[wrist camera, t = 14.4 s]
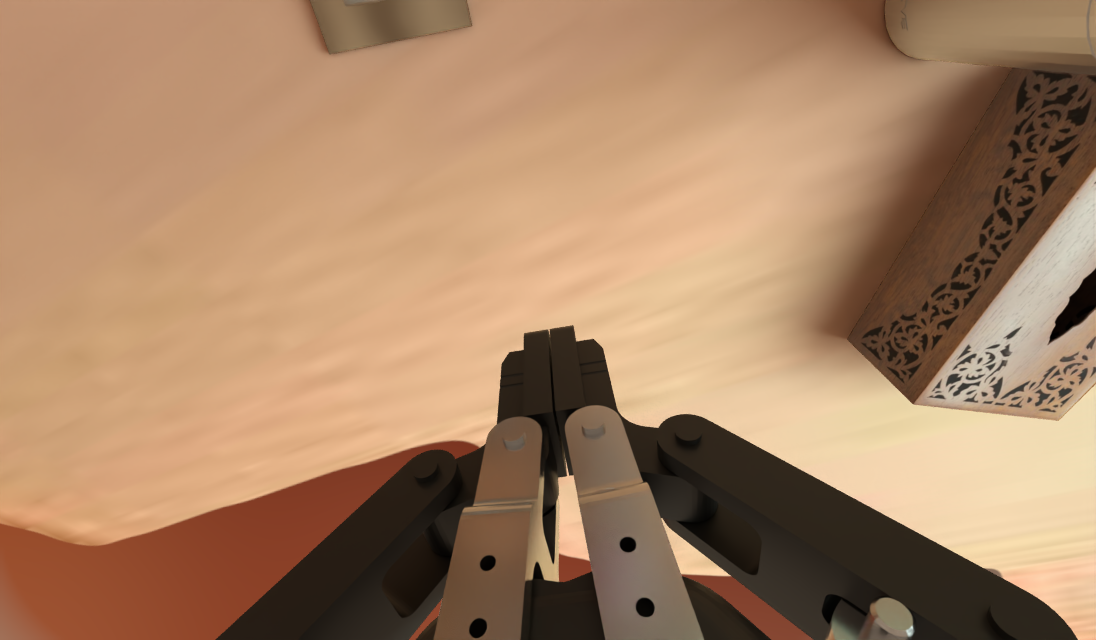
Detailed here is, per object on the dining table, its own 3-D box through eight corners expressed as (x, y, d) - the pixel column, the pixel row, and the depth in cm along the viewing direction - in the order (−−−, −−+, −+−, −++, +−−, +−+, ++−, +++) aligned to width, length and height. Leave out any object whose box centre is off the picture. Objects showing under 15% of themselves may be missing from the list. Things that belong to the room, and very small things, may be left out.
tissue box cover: (1017, 55, 35) (1174, 64, 26) (1177, 89, 37) (1373, 109, 28) (845, 337, 48) (913, 404, 40) (968, 353, 50) (1058, 420, 42)
